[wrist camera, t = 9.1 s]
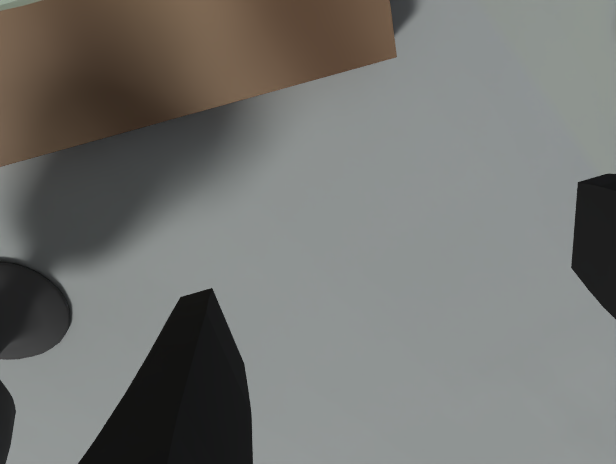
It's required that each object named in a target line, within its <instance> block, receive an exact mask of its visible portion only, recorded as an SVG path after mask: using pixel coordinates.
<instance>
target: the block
mask: <svg viewBox="0 0 616 464" xmlns="http://www.w3.org/2000/svg"><path fill="white" fill-rule="evenodd" d="M38 1H41V0H0V11H2V10H6V9H11V8H15V7H19V6H24V5H27V4H31V3H34V2H38Z"/></svg>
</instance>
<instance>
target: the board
mask: <svg viewBox="0 0 616 464" xmlns="http://www.w3.org/2000/svg"><path fill="white" fill-rule="evenodd" d="M395 57H397V55H396V47H395V39H394V31H393V23H392V15H391V7H390V0H41V1H38V2H34V3H31V4H27V5H24V6H19V7H15V8H11V9H6V10H2V11H0V167H1V166H5V165H9V164H12V163H16V162H20V161H23V160H27V159H30V158H34V157H38V156H41V155H45V154H48V153H52V152H56V151H59V150H63V149H66V148H70V147H74V146H77V145H81V144H85V143H88V142H92V141H95V140H99V139H103V138H106V137H110V136H113V135H117V134H121V133H124V132H128V131H131V130H135V129H139V128H142V127H146V126H150V125H153V124H157V123H160V122H164V121H168V120H171V119H175V118H178V117H182V116H186V115H189V114H193V113H196V112H200V111H204V110H207V109H211V108H215V107H218V106H222V105H225V104H229V103H233V102H236V101H240V100H243V99H247V98H251V97H254V96H258V95H261V94H265V93H269V92H272V91H276V90H280V89H283V88H287V87H290V86H294V85H298V84H301V83H305V82H308V81H312V80H316V79H319V78H323V77H327V76H330V75H334V74H337V73H341V72H345V71H348V70H352V69H355V68H359V67H363V66H366V65H370V64H373V63H377V62H381V61H384V60H388V59H392V58H395Z"/></svg>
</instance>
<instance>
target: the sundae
mask: <svg viewBox="0 0 616 464" xmlns="http://www.w3.org/2000/svg"><path fill="white" fill-rule="evenodd" d="M69 323H70V312H69V307H68V304H67V302H66V300H65V298H64V297H63V295H62V294H61V292H60V290H59V289H58V288H57V287H56V286H55V285H53V284H52V283H51V282H50V281H49V280H47V279H46V278H45V277H43V276H42V275H40V274H39V273H37V272H34V271H32V270H30V269H28V268H25V267H22V266H19V265H16V264H12V263H4V262H0V359H6V360H7V359H22V358H27V357H32V356H35V355H38V354H42V353H44V352H46V351H48V350H49V349H51V348H53V347H54V346H55V345H57V344H58V343H59V342H60V341H61V340H62V338H63V337H64V335H65V334H66V332H67V330H68V328H69ZM15 413H16V410H15V405H14V401H13V398H12V396H11V395H10V393H9V391H8V390H7V388H6V387H5V386H4V384H3V383H2V382H1V380H0V464H6V460H7V456H8V453H9V449H10V445H11V439H12V432H13V426H14V419H15Z"/></svg>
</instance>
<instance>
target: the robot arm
mask: <svg viewBox="0 0 616 464" xmlns="http://www.w3.org/2000/svg"><path fill="white" fill-rule="evenodd" d="M571 268H572V269H573V271H574V272H575V273H576V274H577V276H578V277H579V278H580V279H581V281H582V282H583V283H584V285H585V286H586V287H587V288H588V290H589V291H590V292H591V293H592V294H593V296H594V297H595V298H596V299H597V300H598V301H599V303H600V304H601V305H602V306H603V307H604V308H605V309H606V310H607V311H608V312H609V313H610V314H611V315H612V316H613V317H614V318H615V319H616V174H605V175H601V176H598V177H595V178H591V179H588V180H584V181H581V182H578V188H577V201H576V214H575V227H574V240H573V253H572V266H571ZM78 464H253V452H252V418H251V407H250V400H249V392H248V386H247V379H246V372H245V366H244V362H243V360H242V358H241V355H240V353H239V351H238V348H237V346H236V343H235V341H234V339H233V336H232V334H231V332H230V329H229V327H228V325H227V322H226V320H225V317H224V315H223V313H222V310H221V308H220V306H219V303H218V301H217V298H216V296H215V294H214V291H213V289H212V288H211V289H207V290H204V291H200V292H197V293H193V294H190V295H186V296H183V297H180V299H179V301H178V302H177V304H176V306H175V308H174V309H173V311H172V313H171V314H170V316H169V318H168V320H167V322H166V323H165V325H164V327H163V329H162V331H161V333H160V334H159V336H158V338H157V340H156V342H155V343H154V345H153V347H152V349H151V350H150V352H149V354H148V356H147V357H146V359H145V361H144V363H143V364H142V366H141V368H140V369H139V371H138V373H137V374H136V376H135V378H134V380H133V381H132V383H131V385H130V386H129V388H128V390H127V391H126V393H125V395H124V396H123V398H122V399H121V401H120V402H119V404H118V405H117V407H116V408H115V410H114V412H113V413H112V415H111V416H110V418H109V419H108V421H107V422H106V424H105V425H104V427H103V428H102V430H101V432H100V433H99V435H98V436H97V438H96V439H95V441H94V442H93V443H92V445H91V446H90V448H89V449H88V451H87V452H86V453H85V455H84V456H83V458H82V459H81V460H80V462H79V463H78Z"/></svg>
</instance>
